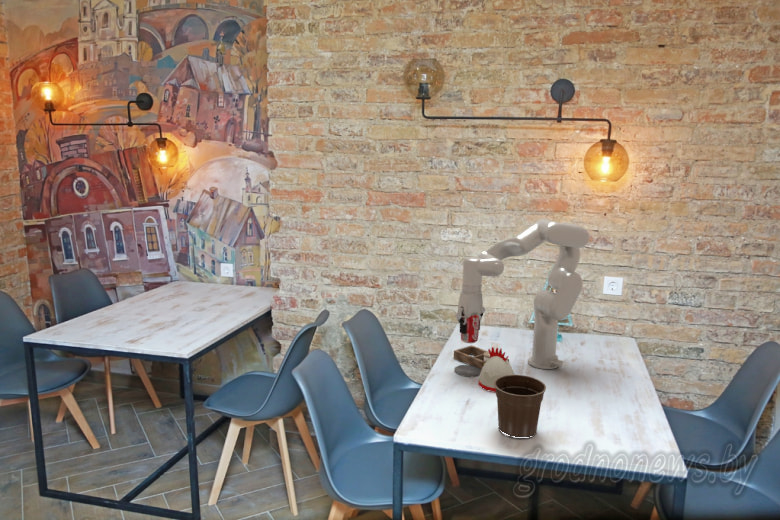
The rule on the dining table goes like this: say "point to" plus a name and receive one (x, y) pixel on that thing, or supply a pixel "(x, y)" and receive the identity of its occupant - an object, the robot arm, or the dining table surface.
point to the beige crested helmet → (494, 369)
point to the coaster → (467, 370)
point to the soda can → (471, 329)
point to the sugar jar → (486, 356)
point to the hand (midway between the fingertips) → (469, 331)
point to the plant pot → (519, 404)
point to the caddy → (465, 356)
